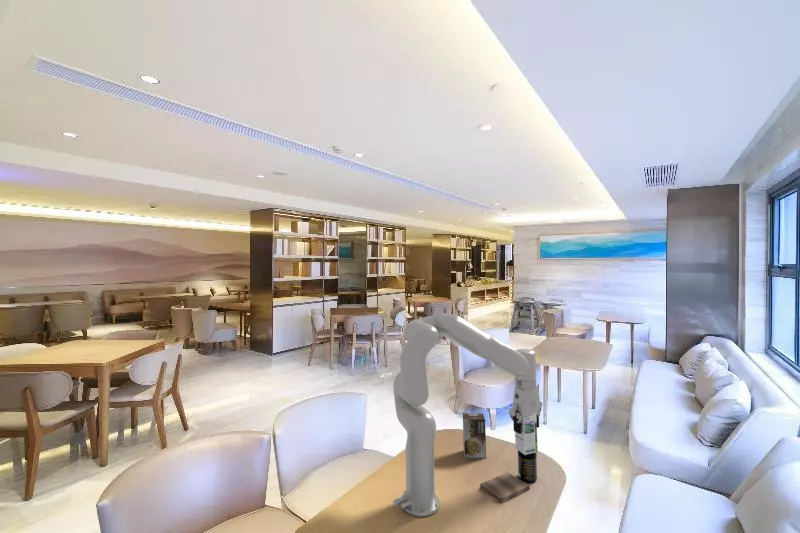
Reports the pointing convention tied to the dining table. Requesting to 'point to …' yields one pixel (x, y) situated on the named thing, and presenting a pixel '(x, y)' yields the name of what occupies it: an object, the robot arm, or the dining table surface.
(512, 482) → the walnut serving board
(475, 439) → the coffee box
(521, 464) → the supplement container
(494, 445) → the dining table surface
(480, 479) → the dining table surface
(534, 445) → the syrup box
